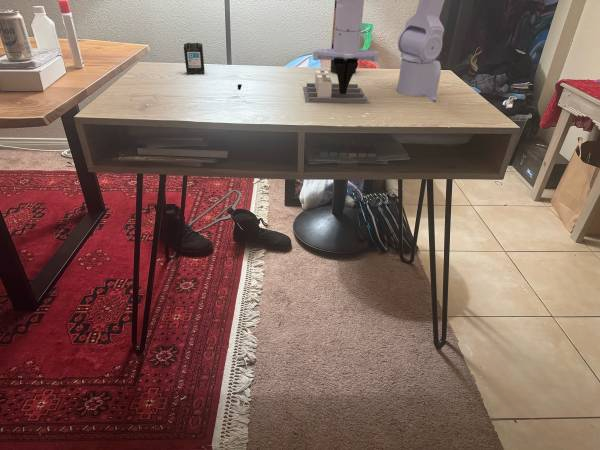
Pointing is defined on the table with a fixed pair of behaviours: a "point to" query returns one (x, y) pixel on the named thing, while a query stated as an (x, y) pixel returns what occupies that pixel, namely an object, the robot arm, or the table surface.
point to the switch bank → (336, 95)
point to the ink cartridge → (194, 58)
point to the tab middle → (321, 78)
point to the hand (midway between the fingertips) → (342, 92)
